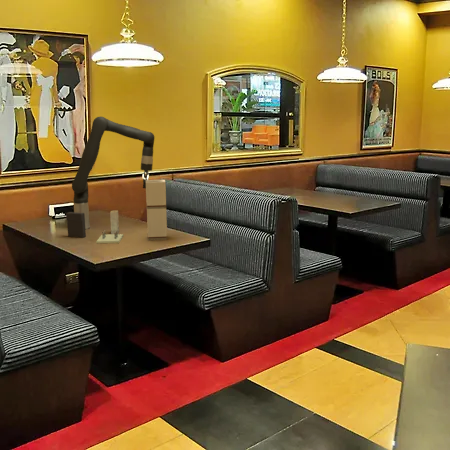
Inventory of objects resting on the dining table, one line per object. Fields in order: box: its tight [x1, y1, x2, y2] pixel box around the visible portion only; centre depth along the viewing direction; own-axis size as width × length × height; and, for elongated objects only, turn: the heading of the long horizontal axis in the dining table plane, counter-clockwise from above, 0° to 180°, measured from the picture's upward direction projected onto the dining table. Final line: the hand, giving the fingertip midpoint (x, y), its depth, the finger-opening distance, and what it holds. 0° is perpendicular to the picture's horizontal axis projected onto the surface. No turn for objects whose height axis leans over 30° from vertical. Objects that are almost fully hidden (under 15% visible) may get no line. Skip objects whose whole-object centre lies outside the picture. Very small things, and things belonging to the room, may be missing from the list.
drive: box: [109, 209, 120, 234], centre depth 347 cm, size 4×6×14 cm, turn 2°
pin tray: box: [95, 229, 124, 244], centre depth 330 cm, size 13×18×5 cm
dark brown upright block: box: [65, 211, 87, 239], centre depth 338 cm, size 11×4×15 cm, turn 71°
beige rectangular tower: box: [145, 179, 168, 241], centre depth 331 cm, size 11×11×35 cm
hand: (144, 187), depth 359 cm, fingers open, 8 cm apart
